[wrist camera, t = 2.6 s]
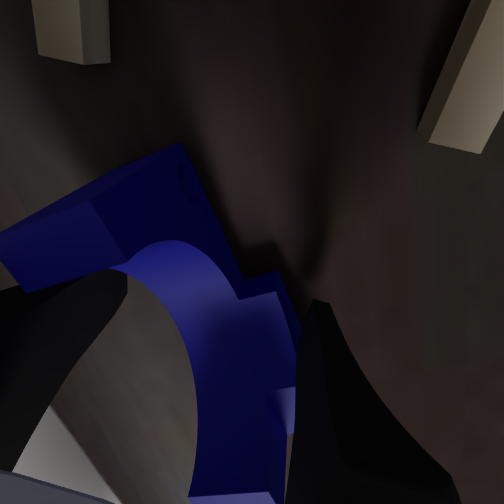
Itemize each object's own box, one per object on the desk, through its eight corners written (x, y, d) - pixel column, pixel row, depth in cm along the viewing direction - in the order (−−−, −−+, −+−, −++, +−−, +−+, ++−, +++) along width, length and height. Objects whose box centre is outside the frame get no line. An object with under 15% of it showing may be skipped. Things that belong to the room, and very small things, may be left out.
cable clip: (319, 372, 17) (326, 514, 11) (234, 386, 18) (205, 520, 13) (219, 126, 12) (152, 176, 7) (112, 169, 13) (-16, 240, 8)
